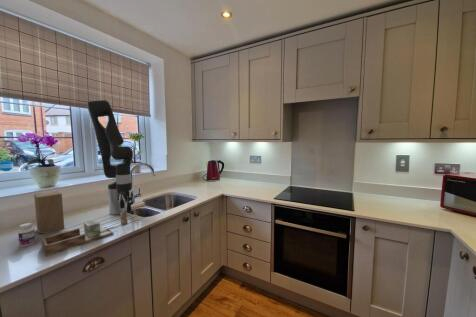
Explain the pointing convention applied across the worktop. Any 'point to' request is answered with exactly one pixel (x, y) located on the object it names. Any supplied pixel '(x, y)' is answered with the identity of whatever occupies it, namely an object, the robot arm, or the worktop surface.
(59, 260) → the worktop surface
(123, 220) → the string block
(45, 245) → the lane
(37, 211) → the wooden block
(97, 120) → the robot arm
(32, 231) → the pill bottle
